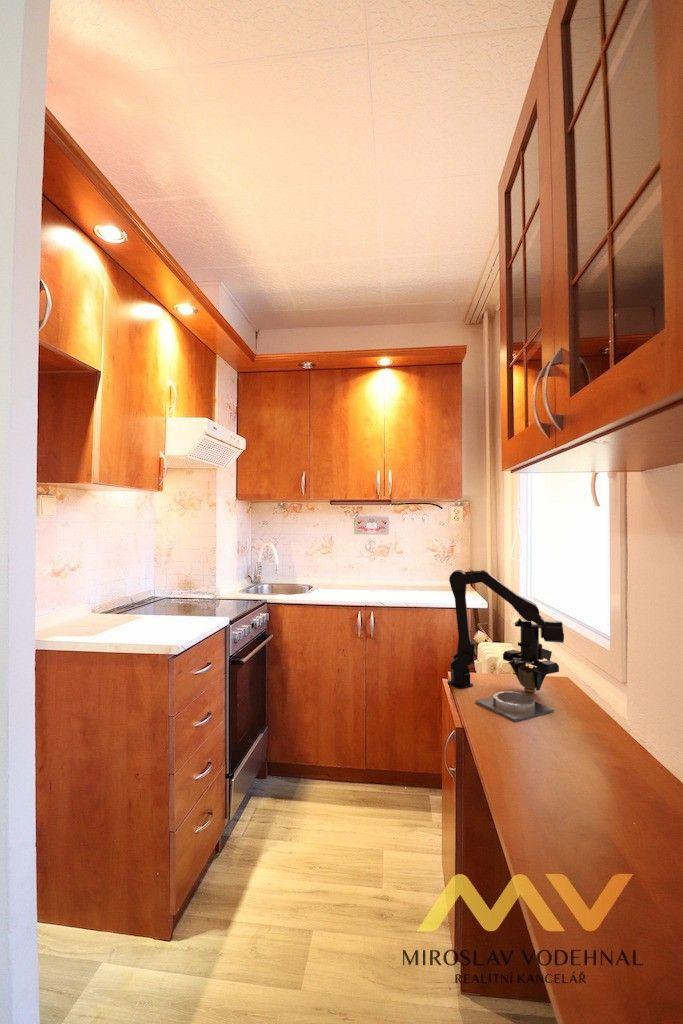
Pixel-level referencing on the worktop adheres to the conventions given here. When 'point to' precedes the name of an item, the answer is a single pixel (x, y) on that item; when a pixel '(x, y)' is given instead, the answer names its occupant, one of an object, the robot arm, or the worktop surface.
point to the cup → (527, 678)
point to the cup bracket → (514, 705)
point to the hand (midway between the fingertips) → (529, 687)
